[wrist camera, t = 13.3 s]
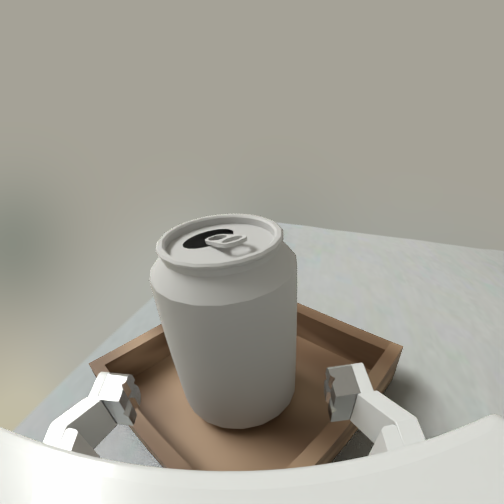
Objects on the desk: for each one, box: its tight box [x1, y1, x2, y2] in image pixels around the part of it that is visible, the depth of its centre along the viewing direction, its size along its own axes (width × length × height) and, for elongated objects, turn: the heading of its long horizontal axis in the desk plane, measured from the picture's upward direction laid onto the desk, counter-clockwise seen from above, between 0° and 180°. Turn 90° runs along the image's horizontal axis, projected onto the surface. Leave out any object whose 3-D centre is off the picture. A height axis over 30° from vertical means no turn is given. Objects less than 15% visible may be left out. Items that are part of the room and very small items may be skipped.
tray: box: [89, 303, 403, 471], centre depth 20 cm, size 16×16×4 cm
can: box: [150, 214, 297, 429], centre depth 17 cm, size 8×8×12 cm
